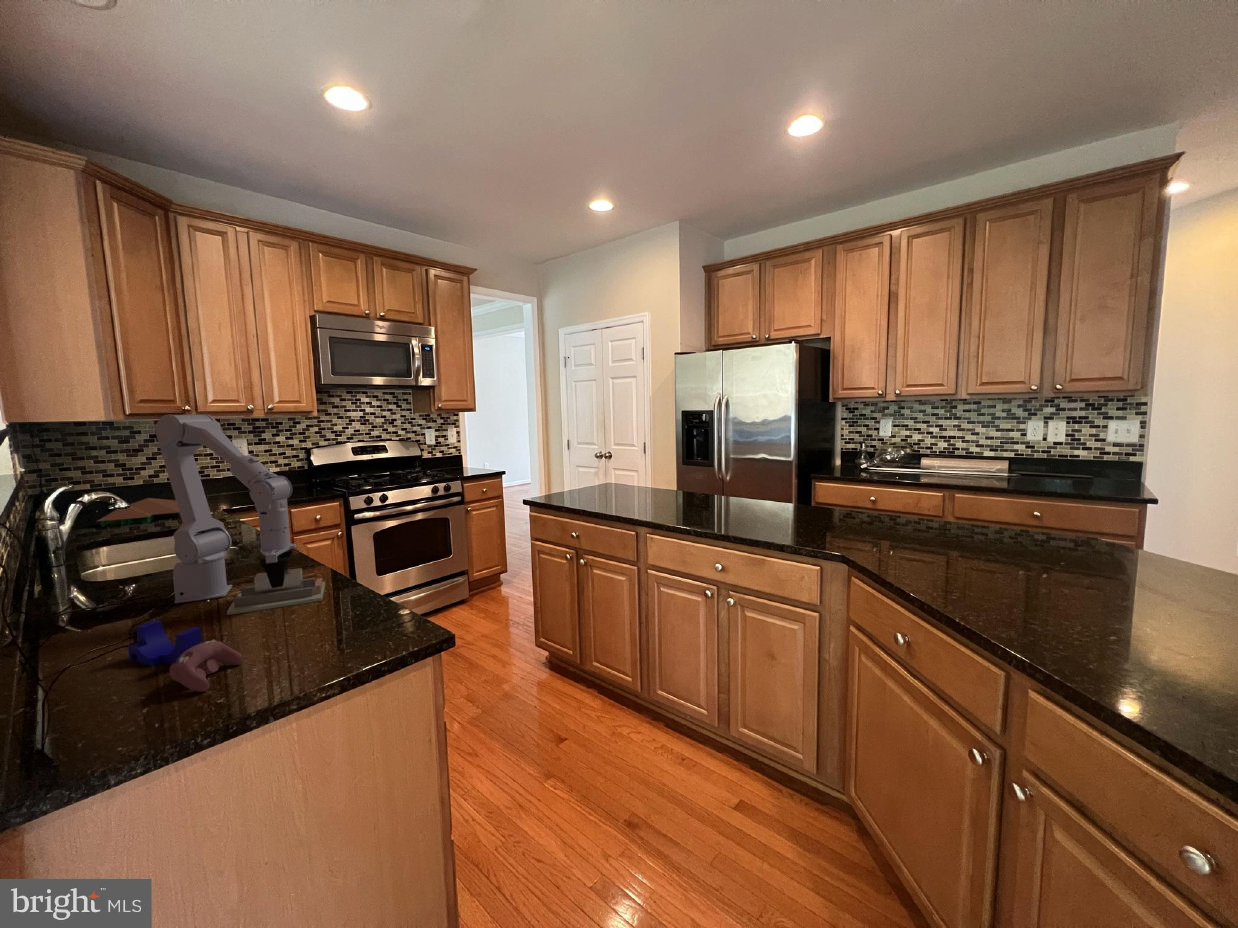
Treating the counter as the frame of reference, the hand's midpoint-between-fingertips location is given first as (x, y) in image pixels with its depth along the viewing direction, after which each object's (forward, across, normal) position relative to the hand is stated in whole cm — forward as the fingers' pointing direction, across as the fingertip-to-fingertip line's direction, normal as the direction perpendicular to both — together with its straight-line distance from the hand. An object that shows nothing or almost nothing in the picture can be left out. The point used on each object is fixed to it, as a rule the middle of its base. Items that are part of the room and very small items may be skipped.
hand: (278, 583), depth 118 cm
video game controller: (+4, -36, +6) cm, 37 cm away
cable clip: (+4, -25, +14) cm, 29 cm away
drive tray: (+4, 0, 0) cm, 4 cm away
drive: (+2, 0, 0) cm, 2 cm away
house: (+4, +131, +62) cm, 146 cm away
